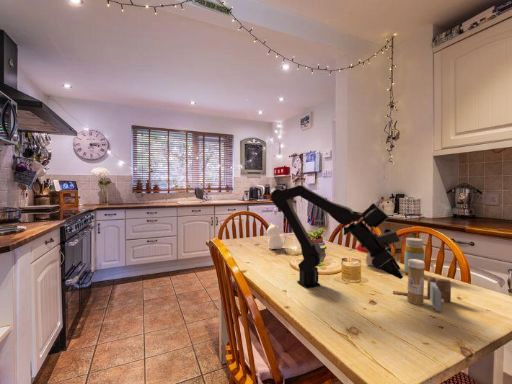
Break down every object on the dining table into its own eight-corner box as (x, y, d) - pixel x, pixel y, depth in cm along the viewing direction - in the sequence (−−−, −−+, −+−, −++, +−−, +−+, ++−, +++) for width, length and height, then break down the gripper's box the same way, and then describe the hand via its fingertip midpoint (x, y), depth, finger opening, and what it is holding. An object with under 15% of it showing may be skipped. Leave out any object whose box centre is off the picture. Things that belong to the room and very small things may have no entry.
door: (430, 298, 83) (430, 282, 83) (437, 300, 82) (438, 283, 82) (435, 310, 75) (436, 292, 75) (444, 312, 74) (444, 293, 74)
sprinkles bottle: (404, 300, 82) (405, 259, 82) (412, 297, 85) (412, 257, 84) (419, 306, 78) (420, 263, 78) (426, 303, 81) (427, 261, 80)
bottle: (422, 272, 109) (422, 238, 108) (425, 278, 103) (425, 241, 102) (403, 270, 112) (403, 236, 111) (405, 275, 105) (405, 239, 105)
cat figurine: (263, 248, 153) (263, 223, 152) (281, 245, 158) (281, 221, 158) (271, 251, 145) (270, 225, 144) (289, 248, 150) (289, 223, 149)
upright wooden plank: (448, 300, 83) (449, 279, 83) (450, 302, 81) (451, 281, 81) (392, 291, 90) (393, 272, 90) (393, 293, 88) (393, 274, 88)
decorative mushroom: (395, 269, 113) (396, 236, 113) (367, 271, 111) (367, 237, 111) (376, 260, 127) (376, 230, 127) (350, 261, 125) (350, 231, 125)
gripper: (385, 225, 77) (427, 267, 72) (383, 218, 93) (417, 251, 89) (356, 248, 80) (394, 289, 76) (359, 237, 97) (391, 270, 93)
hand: (400, 273), depth 83 cm, fingers open, 9 cm apart
